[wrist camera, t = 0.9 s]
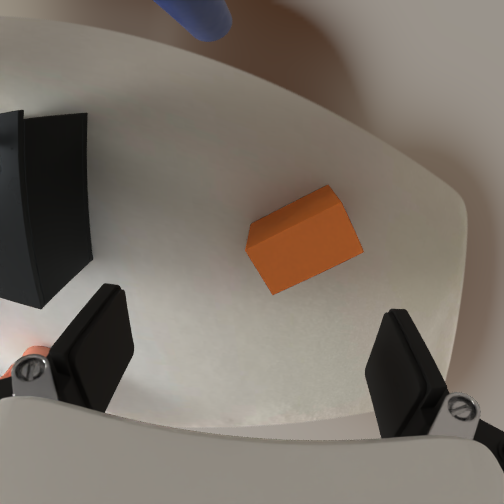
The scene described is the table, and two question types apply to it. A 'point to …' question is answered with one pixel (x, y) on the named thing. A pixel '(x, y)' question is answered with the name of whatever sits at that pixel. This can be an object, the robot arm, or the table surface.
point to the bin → (57, 197)
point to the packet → (302, 240)
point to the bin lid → (15, 219)
